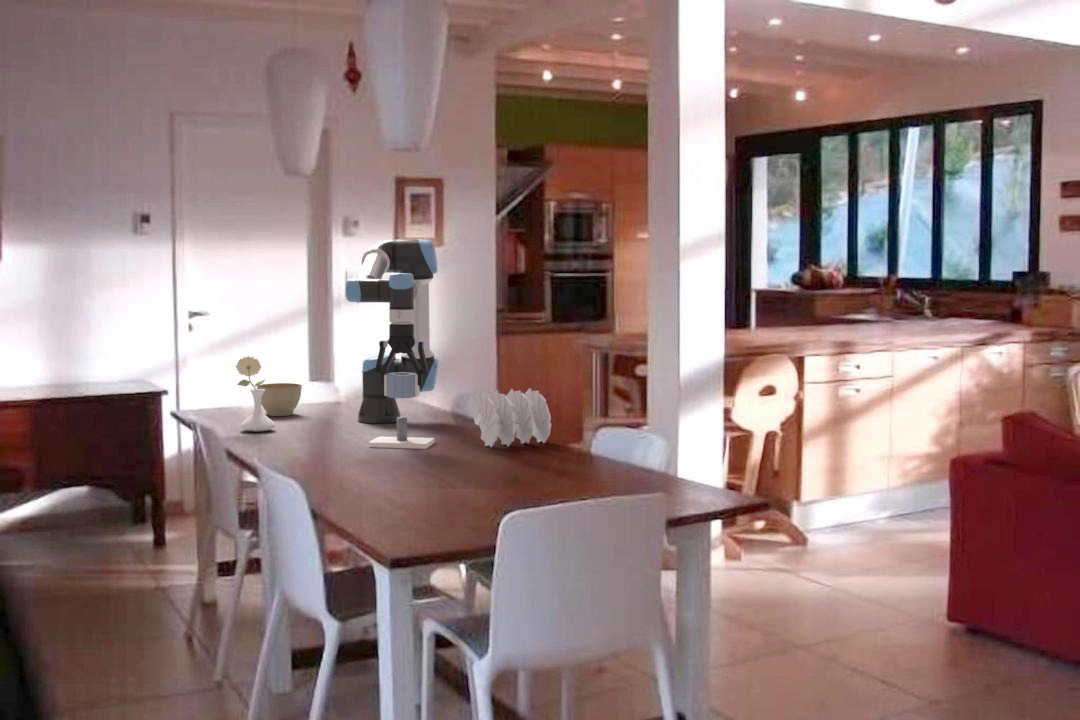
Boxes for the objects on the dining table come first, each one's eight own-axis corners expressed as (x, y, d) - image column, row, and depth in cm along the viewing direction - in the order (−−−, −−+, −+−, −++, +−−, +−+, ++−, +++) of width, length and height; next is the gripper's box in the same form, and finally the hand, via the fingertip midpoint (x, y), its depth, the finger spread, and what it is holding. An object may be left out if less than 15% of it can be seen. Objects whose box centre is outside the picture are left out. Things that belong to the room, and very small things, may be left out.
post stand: (378, 441, 376) (378, 414, 375) (434, 442, 374) (434, 415, 373) (368, 447, 364) (368, 419, 363) (426, 448, 362) (426, 421, 361)
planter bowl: (253, 413, 440) (252, 384, 439) (296, 411, 446) (296, 382, 446) (262, 418, 425) (261, 388, 424) (306, 416, 432) (306, 386, 431)
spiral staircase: (552, 456, 373) (481, 459, 361) (529, 426, 386) (460, 427, 374) (567, 407, 365) (495, 408, 353) (543, 378, 378) (473, 377, 366)
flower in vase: (280, 429, 401) (279, 355, 398) (269, 434, 389) (268, 358, 387) (242, 428, 402) (241, 354, 400) (230, 433, 391) (229, 357, 388)
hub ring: (391, 394, 373) (391, 372, 372) (419, 394, 371) (419, 372, 371) (384, 397, 364) (383, 375, 363) (412, 398, 363) (412, 375, 362)
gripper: (364, 323, 363) (364, 396, 365) (433, 324, 360) (433, 397, 362) (370, 321, 371) (371, 393, 373) (438, 323, 368) (438, 395, 370)
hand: (401, 395), depth 368 cm, fingers closed on hub ring, 9 cm apart
